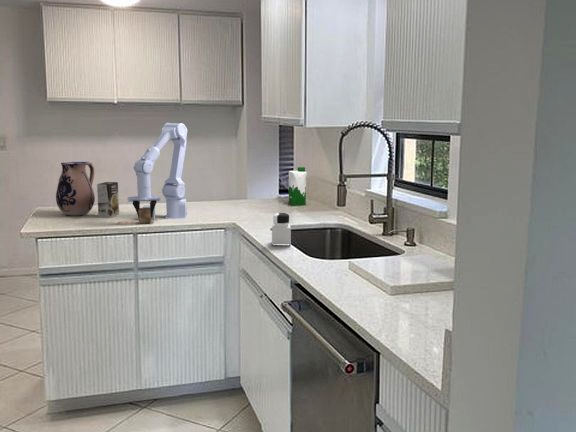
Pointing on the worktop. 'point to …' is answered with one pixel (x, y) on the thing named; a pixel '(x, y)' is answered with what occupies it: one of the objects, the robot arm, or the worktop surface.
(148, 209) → the walnut block
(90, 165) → the ceramic pitcher
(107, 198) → the coffee box
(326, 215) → the worktop surface
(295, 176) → the milk carton
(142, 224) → the rubber pad
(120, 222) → the code tile
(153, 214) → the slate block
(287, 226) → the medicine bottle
